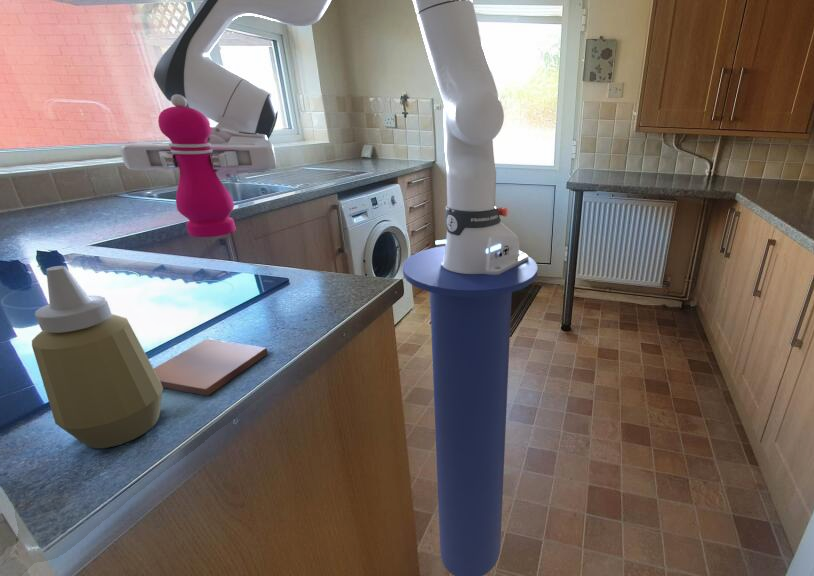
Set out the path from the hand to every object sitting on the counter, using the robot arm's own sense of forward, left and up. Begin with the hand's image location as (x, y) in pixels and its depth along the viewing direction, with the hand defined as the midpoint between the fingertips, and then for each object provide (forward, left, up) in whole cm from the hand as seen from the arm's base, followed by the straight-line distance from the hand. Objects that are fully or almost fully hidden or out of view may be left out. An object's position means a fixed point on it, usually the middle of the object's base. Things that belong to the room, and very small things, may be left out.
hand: (193, 161), depth 60 cm
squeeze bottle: (+16, +25, -24) cm, 39 cm away
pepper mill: (0, -1, -11) cm, 11 cm away
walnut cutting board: (+7, +18, -24) cm, 31 cm away
